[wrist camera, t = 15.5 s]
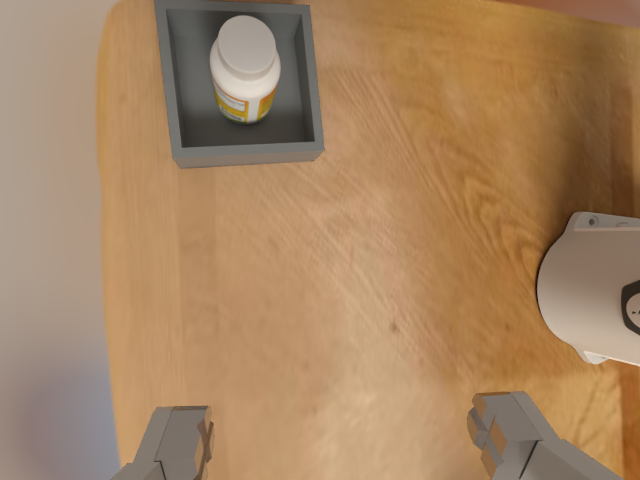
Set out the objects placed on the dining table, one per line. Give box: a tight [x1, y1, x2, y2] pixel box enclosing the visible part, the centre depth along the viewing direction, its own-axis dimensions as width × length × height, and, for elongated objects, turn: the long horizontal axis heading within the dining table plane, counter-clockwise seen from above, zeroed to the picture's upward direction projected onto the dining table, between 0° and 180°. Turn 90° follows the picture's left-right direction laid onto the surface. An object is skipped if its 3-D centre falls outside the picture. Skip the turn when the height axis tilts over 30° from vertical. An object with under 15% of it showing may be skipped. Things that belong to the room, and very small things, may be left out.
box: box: [154, 0, 325, 169], centre depth 32 cm, size 13×13×4 cm
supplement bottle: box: [210, 15, 281, 125], centre depth 29 cm, size 5×5×10 cm
